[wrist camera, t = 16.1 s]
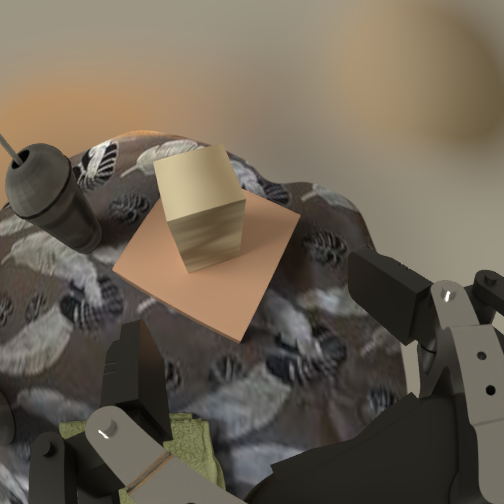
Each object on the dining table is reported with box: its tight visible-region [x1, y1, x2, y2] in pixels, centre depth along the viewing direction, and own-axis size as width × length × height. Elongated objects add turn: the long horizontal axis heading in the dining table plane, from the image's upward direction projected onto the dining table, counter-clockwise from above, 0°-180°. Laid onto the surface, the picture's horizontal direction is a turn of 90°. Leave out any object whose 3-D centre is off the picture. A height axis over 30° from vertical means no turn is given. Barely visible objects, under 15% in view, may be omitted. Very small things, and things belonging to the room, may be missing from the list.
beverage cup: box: [0, 134, 102, 254], centre depth 20 cm, size 7×7×20 cm
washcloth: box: [59, 412, 226, 504], centre depth 19 cm, size 13×18×3 cm
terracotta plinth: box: [112, 189, 300, 344], centre depth 28 cm, size 14×14×4 cm
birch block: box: [153, 144, 246, 273], centre depth 22 cm, size 5×5×10 cm
